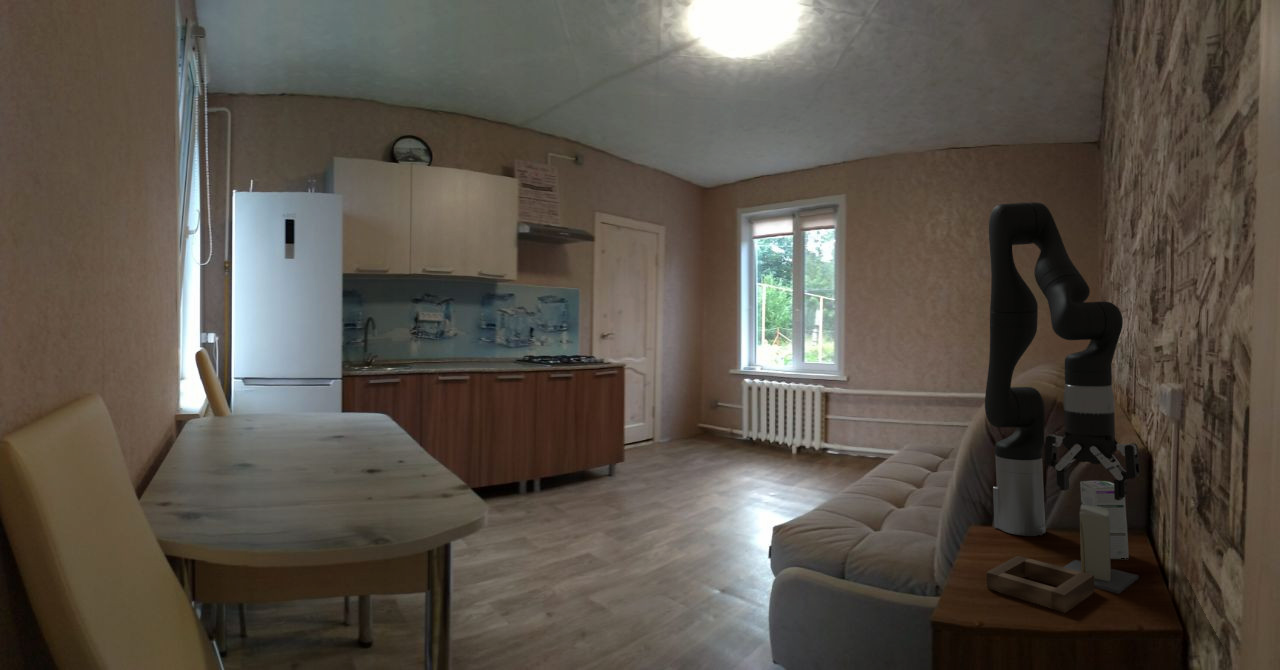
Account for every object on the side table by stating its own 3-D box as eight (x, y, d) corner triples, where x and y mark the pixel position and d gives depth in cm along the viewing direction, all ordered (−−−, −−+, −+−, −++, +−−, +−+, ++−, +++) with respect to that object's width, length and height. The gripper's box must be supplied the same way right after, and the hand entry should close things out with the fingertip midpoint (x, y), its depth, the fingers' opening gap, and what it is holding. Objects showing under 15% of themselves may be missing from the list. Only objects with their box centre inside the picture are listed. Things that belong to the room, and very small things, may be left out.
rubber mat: (1053, 576, 112) (1053, 572, 112) (1075, 562, 118) (1075, 559, 118) (1118, 593, 104) (1118, 590, 104) (1138, 578, 109) (1138, 575, 109)
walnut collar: (987, 588, 108) (986, 572, 108) (1018, 570, 115) (1017, 555, 115) (1065, 613, 98) (1064, 595, 98) (1094, 592, 105) (1093, 575, 105)
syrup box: (1130, 559, 118) (1127, 487, 118) (1096, 558, 119) (1093, 487, 119) (1113, 549, 124) (1110, 480, 124) (1081, 548, 125) (1078, 480, 125)
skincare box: (1083, 566, 115) (1080, 503, 115) (1112, 571, 112) (1109, 507, 112) (1081, 577, 110) (1078, 512, 110) (1111, 582, 107) (1108, 515, 107)
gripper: (1143, 409, 107) (1145, 498, 107) (1053, 402, 119) (1056, 482, 119) (1128, 415, 103) (1131, 507, 103) (1037, 407, 114) (1039, 490, 115)
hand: (1090, 494), depth 111 cm, fingers open, 8 cm apart
